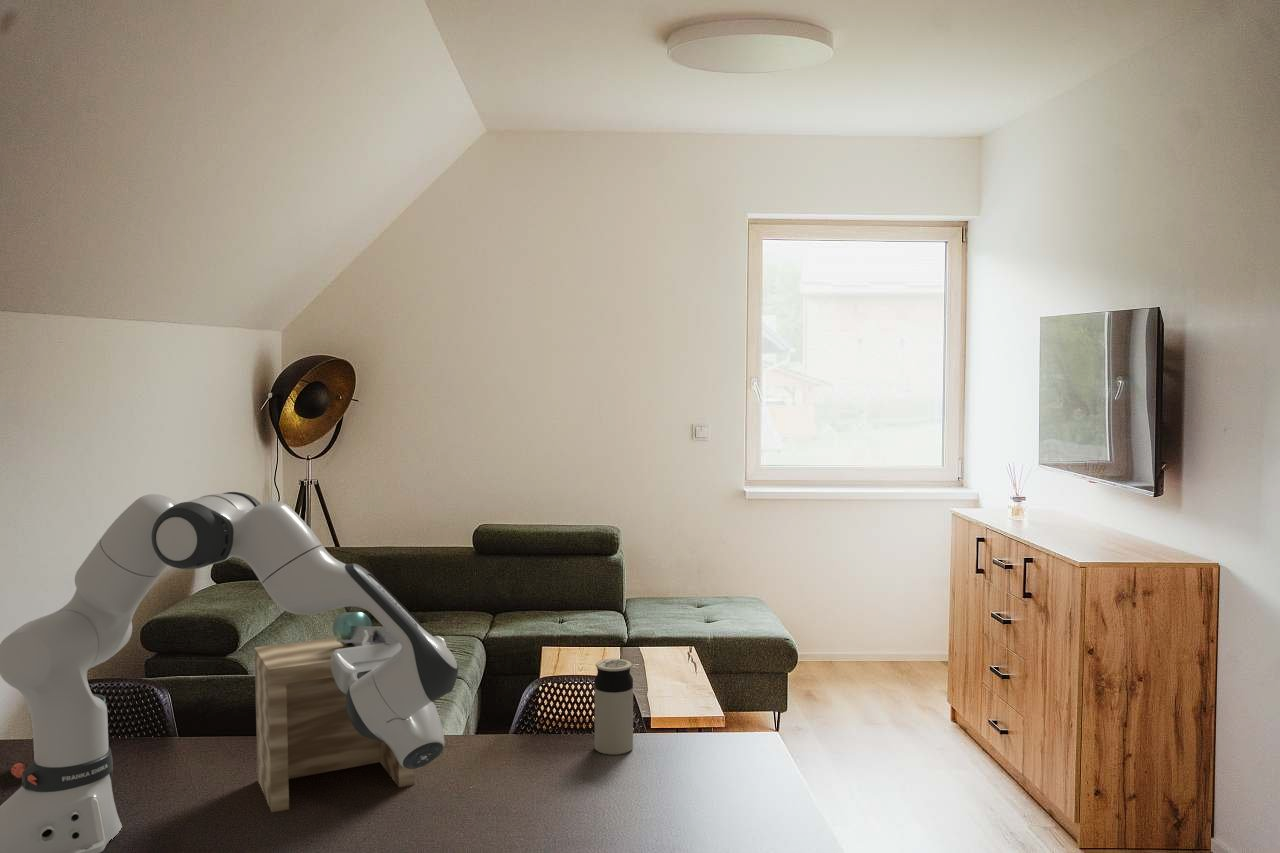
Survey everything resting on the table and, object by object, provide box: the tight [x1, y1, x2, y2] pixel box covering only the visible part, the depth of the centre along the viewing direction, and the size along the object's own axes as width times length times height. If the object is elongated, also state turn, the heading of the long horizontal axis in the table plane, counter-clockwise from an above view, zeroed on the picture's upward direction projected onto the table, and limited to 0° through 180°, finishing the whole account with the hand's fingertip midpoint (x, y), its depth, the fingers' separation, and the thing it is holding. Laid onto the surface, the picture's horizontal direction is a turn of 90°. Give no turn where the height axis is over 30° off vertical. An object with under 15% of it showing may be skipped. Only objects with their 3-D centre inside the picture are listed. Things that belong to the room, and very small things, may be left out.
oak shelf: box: [254, 636, 415, 813], centre depth 199 cm, size 16×26×26 cm, turn 119°
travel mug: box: [594, 658, 634, 756], centre depth 216 cm, size 8×8×18 cm
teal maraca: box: [332, 611, 398, 644], centre depth 193 cm, size 20×6×6 cm, turn 41°
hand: (381, 630), depth 190 cm, fingers closed on teal maraca, 4 cm apart
